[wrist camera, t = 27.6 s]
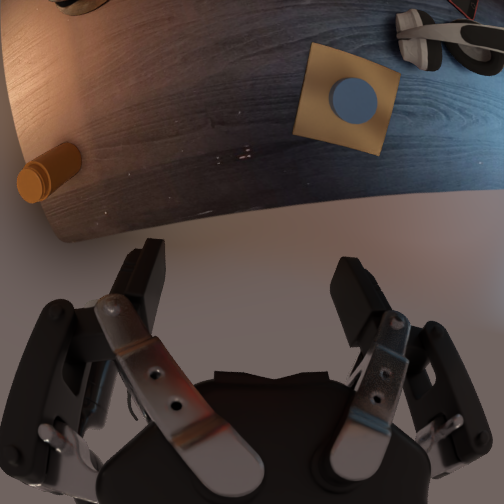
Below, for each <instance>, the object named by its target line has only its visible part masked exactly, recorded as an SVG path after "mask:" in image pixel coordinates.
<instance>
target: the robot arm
mask: <svg viewBox="0 0 504 504" xmlns="http://www.w3.org/2000/svg"><path fill="white" fill-rule="evenodd" d="M164 242H165V241H164V240H163V239H152V238H147V240H146V242H145V244H144V246H143V248H142V249H134V250H133V251H131V252H130V253H129V254H128V255H127V257H126V258H125V260H124V263H123V265H122V267H121V269H120V271H119V273H118V275H117V278H116V280H115V282H114V284H113V286H112V289H111V291H110V293H109V294H108V295H105V296H103V297H102V298H100V299H99V300H98V301H97V302H96V304H95V306H93V307H88V308H80V309H74V307H73V305H72V304H71V302H69V301H67V300H65V299H57V300H54V301H51V302H50V303H48V304H47V305H46V306H45V307H44V308H43V310H42V312H41V314H40V316H39V318H38V320H37V322H36V325H35V327H34V329H33V331H32V334H31V336H30V338H29V341H28V343H27V346H26V348H25V351H24V353H23V355H22V358H21V361H20V363H19V366H18V369H17V372H16V374H15V377H14V380H13V383H12V386H11V390H10V393H9V396H8V399H7V403H6V406H5V410H4V414H3V418H2V422H1V426H0V467H1V469H2V470H3V471H4V472H5V473H6V474H7V475H9V476H11V477H13V478H15V479H18V480H20V481H21V482H23V483H24V484H27V485H29V486H31V487H34V488H36V489H39V490H42V491H45V492H50V493H53V494H56V495H63V494H65V495H69V496H71V497H73V498H74V500H75V502H76V504H427V497H428V488H429V483H430V478H432V479H439V478H442V477H444V476H446V475H448V474H450V473H452V472H454V471H456V470H458V469H460V468H462V467H464V466H466V465H468V464H469V463H471V462H473V461H475V460H477V459H478V458H480V457H482V456H483V455H485V454H487V453H488V452H489V451H490V449H491V447H492V443H493V439H492V434H491V431H490V428H489V425H488V422H487V419H486V416H485V414H484V411H483V408H482V406H481V403H480V401H479V398H478V396H477V393H476V391H475V389H474V386H473V384H472V382H471V379H470V377H469V375H468V373H467V370H466V368H465V366H464V364H463V362H462V360H461V358H460V356H459V354H458V352H457V350H456V348H455V346H454V344H453V342H452V340H451V338H450V336H449V334H448V332H447V331H446V329H445V328H444V327H443V326H442V325H441V324H439V323H437V322H435V321H429V322H427V323H426V325H425V326H424V327H423V328H419V327H415V326H411V325H410V322H409V321H408V319H407V318H406V317H405V316H404V315H403V314H401V313H400V312H398V311H394V310H392V308H391V307H390V305H389V303H388V301H387V299H386V297H385V296H384V294H383V292H382V291H381V289H380V287H379V285H377V284H378V283H377V282H376V280H375V278H374V276H373V275H372V274H371V273H370V272H368V270H366V269H364V268H363V266H362V264H361V262H360V261H359V259H358V258H354V257H341V258H340V260H339V263H338V265H337V268H336V271H335V273H334V276H333V278H332V281H331V284H330V294H331V297H332V299H333V302H334V305H335V307H336V310H337V313H338V315H339V318H340V321H341V324H342V326H343V329H344V332H345V335H346V337H347V340H348V343H349V346H350V347H360V349H361V350H360V352H359V353H358V355H357V357H356V359H355V362H354V364H353V366H352V368H351V370H350V373H349V375H348V377H347V379H346V381H345V383H344V384H342V383H340V382H337V381H334V380H330V379H329V376H328V372H327V371H326V372H303V373H299V374H295V375H291V376H287V377H283V378H279V379H270V378H265V377H260V376H256V375H252V374H248V373H244V372H223V371H215V372H214V379H211V380H206V381H202V382H200V383H197V384H195V385H193V384H192V383H191V382H190V380H189V379H188V378H187V376H186V375H185V374H184V372H183V371H182V370H181V368H180V367H179V366H178V364H177V363H176V362H175V360H174V359H173V357H172V356H171V355H170V354H169V352H168V351H167V349H166V348H165V346H164V345H163V343H162V342H161V340H160V339H159V338H158V337H157V336H154V337H152V335H151V334H152V329H153V325H154V321H155V316H156V312H157V308H158V304H159V300H160V296H161V292H162V289H163V285H164V281H165V272H166V266H165V243H164ZM430 362H431V365H432V367H433V369H434V372H435V375H436V381H435V384H434V385H433V386H432V384H431V382H430V379H429V377H428V374H427V372H426V369H425V367H426V366H427V365H428V364H429V363H430ZM118 372H119V374H120V376H121V378H122V380H123V382H124V383H125V385H126V387H127V393H128V398H127V401H128V408H129V411H130V413H131V415H132V416H133V417H134V419H135V420H136V421H137V420H138V419H137V417H136V416H135V414H134V413H133V411H132V408H131V396H132V398H133V400H134V402H135V404H136V406H137V407H138V409H139V411H140V412H141V414H142V415H143V417H144V419H145V420H146V422H147V424H148V425H147V426H146V427H145V428H144V429H143V430H142V431H141V432H139V433H138V434H137V435H136V436H135V437H134V438H133V439H132V440H131V441H129V442H128V443H127V444H126V445H125V446H124V447H123V448H122V449H120V450H119V451H118V452H117V453H116V454H115V455H113V456H112V457H111V458H110V459H109V460H108V461H107V462H106V463H105V464H104V465H103V463H102V462H101V460H100V458H99V457H98V456H97V455H96V454H95V453H94V452H93V451H91V450H90V449H89V447H88V445H87V443H86V442H85V440H84V439H83V436H84V434H85V431H86V430H87V429H93V430H100V429H102V428H103V427H104V426H105V423H106V419H107V414H108V409H109V405H110V401H111V396H112V393H113V389H114V385H115V381H116V377H117V373H118ZM402 388H403V390H404V393H405V396H406V399H407V402H408V406H409V409H410V412H411V416H412V419H413V423H414V426H415V430H416V433H417V435H416V441H414V440H413V439H412V438H410V437H409V436H408V435H407V434H405V433H404V432H403V431H402V430H401V429H399V428H398V427H397V426H396V425H394V424H393V423H392V421H393V418H394V415H395V411H396V408H397V405H398V402H399V398H400V395H401V391H402Z"/></svg>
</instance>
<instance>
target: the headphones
mask: <svg viewBox="0 0 504 504" xmlns="http://www.w3.org/2000/svg"><path fill="white" fill-rule="evenodd" d="M396 30H397V34H396V36H397V39H399V41H398V43H399V48H400V52H401V55H402V57H403V59H404V60H405V61H409V62H411V63H413V64H415V65H416V66H417V67H418V68H419V69H421V70H424V71H436V70H438V69H439V68H440V67H441V64H442V46H441V41H444V42H445V44H446V47H447V49H448V50H449V52H450V53H451V55H452V56H453V57H454V58H455V59H456V60H457V61H458V62H459V63H460V64H461V65H463V66H464V67H465V68H467V69H469V70H470V71H472V72H475V73H477V74H480V75H484V76H492V75H496V74H498V73H499V72H501V71H502V69H503V67H504V28H501V27H495V26H488V25H482V24H480V23H478V22H476V21H473V20H469V19H457V20H454V21H452V22H451V23H446V24H435V22H434V20H433V19H432V18H431V16H430V15H429V14H427V13H426V12H424V11H420V10H416V9H409V10H408V11H407V12H404V13H401V14H396Z"/></svg>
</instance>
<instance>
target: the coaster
mask: <svg viewBox="0 0 504 504" xmlns="http://www.w3.org/2000/svg"><path fill="white" fill-rule="evenodd" d="M400 76H401V74H400V73H398V72H396V71H393V70H391V69H389V68H386V67H384V66H382V65H379V64H377V63H374V62H372V61H369V60H366V59H364V58H361V57H358V56H355V55H353V54H350V53H347V52H344V51H341V50H337V49H334V48H331V47H328V46H324V45H321V44H317V43H313V42H312V43H311V47H310V52H309V57H308V61H307V66H306V71H305V76H304V81H303V85H302V90H301V95H300V99H299V104H298V109H297V113H296V118H295V123H294V127H293V132H292V134H293V135H298V136H303V137H307V138H312V139H316V140H321V141H325V142H329V143H333V144H337V145H341V146H345V147H349V148H353V149H356V150H360V151H363V152H367V153H370V154H374V155H377V156H379V155H380V152H381V149H382V145H383V142H384V138H385V135H386V131H387V128H388V124H389V121H390V117H391V113H392V109H393V105H394V101H395V97H396V93H397V89H398V85H399V80H400ZM343 78H359V79H362V80H364V81H366V82H367V83H369V84H370V85H371V86H372V88H373V89H374V91H375V93H376V96H377V101H378V103H377V109H376V112H375V114H374V115H373V117H372V118H371V119H370V120H368V121H367V122H365V123H362V124H351V123H348V122H346V121H344V120H342V119H340V118H339V117H337V116H336V115H335V114H334V113H333V111H332V109H331V107H330V104H329V92H330V89H331V87H332V86H333V85H334V84H335V83H336V82H337V81H338V80H340V79H343Z"/></svg>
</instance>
